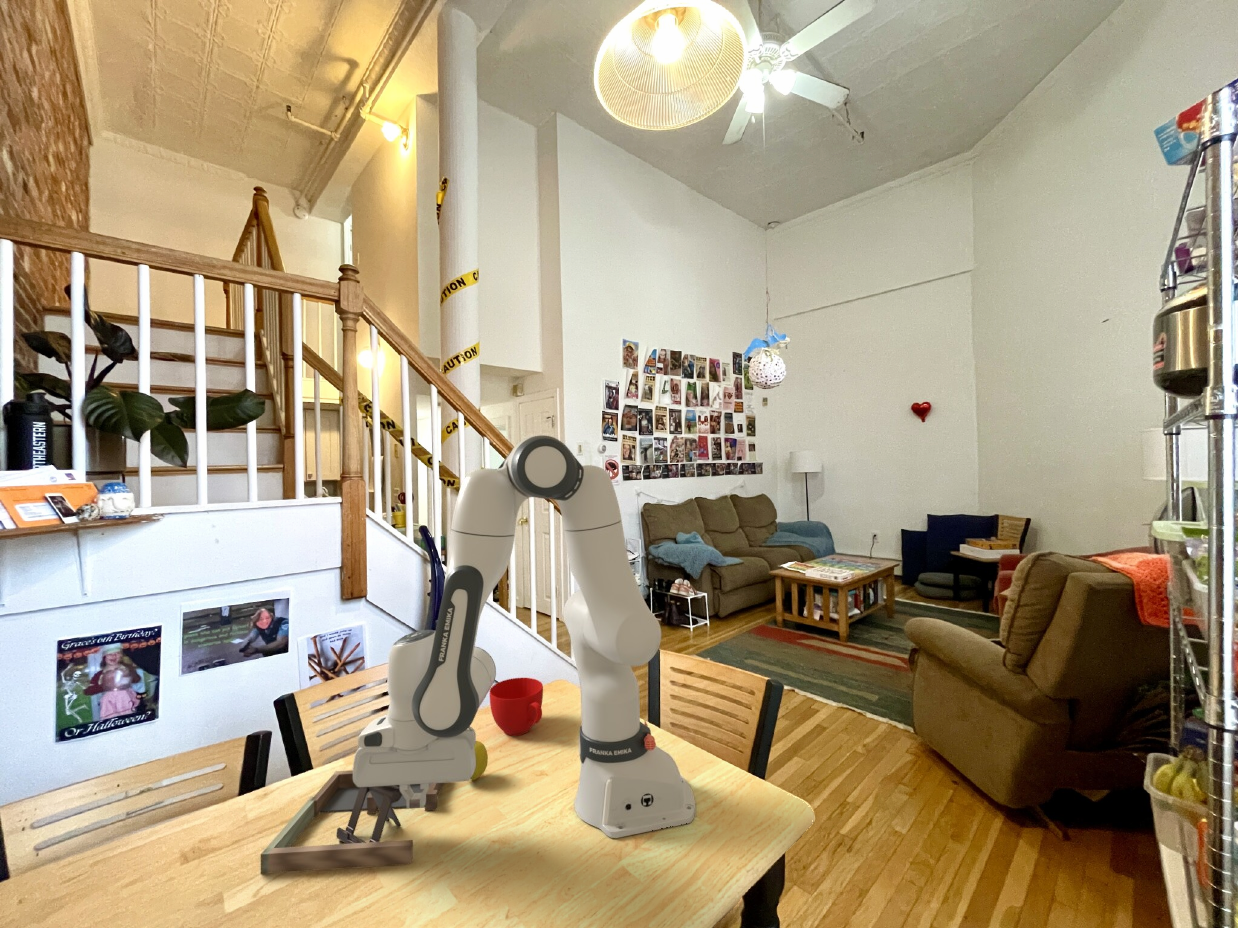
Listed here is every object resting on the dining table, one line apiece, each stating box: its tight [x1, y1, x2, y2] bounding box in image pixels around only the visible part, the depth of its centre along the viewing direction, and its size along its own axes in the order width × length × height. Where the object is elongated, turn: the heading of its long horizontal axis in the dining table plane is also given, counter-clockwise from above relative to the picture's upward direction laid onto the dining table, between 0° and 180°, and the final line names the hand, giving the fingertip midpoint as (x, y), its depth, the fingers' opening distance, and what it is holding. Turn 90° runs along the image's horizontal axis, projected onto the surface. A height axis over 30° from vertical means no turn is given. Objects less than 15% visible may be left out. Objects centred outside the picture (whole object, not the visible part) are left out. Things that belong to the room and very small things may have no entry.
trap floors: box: [320, 784, 425, 814], centre depth 98 cm, size 20×7×1 cm, turn 93°
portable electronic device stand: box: [336, 785, 402, 844], centre depth 88 cm, size 9×8×8 cm
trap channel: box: [260, 769, 445, 874], centre depth 92 cm, size 23×23×3 cm
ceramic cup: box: [489, 677, 544, 736], centre depth 123 cm, size 13×17×10 cm
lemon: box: [469, 740, 489, 781], centre depth 104 cm, size 6×6×8 cm
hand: (416, 806), depth 88 cm, fingers closed
